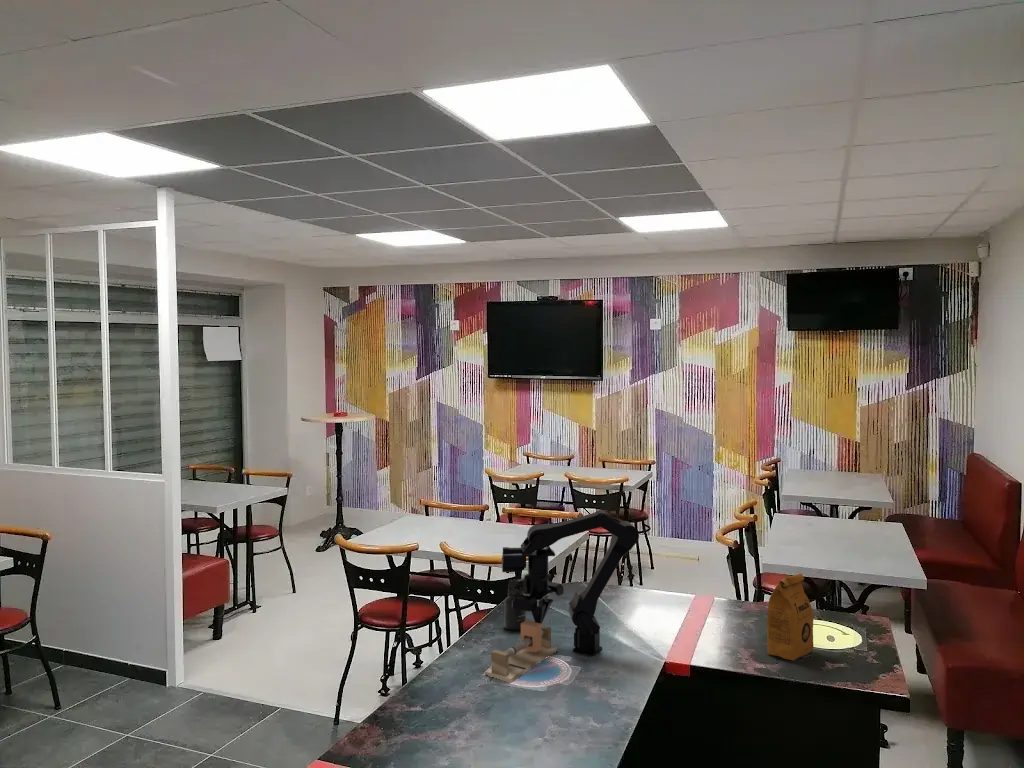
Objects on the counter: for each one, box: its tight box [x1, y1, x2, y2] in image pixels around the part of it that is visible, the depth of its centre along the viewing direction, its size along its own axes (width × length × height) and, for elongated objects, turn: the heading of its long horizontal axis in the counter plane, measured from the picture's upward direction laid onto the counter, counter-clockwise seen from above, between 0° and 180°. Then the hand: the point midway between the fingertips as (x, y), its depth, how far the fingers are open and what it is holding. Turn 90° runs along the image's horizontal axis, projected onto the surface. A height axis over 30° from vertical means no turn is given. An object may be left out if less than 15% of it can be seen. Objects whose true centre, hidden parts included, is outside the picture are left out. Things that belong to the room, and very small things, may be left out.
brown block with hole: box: [520, 619, 542, 652], centre depth 204 cm, size 3×5×7 cm, turn 57°
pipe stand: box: [484, 624, 558, 683], centre depth 200 cm, size 24×8×6 cm, turn 146°
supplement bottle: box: [504, 588, 528, 632], centre depth 226 cm, size 7×7×12 cm
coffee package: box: [766, 573, 815, 661], centre depth 204 cm, size 10×12×22 cm
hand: (538, 625), depth 207 cm, fingers closed
